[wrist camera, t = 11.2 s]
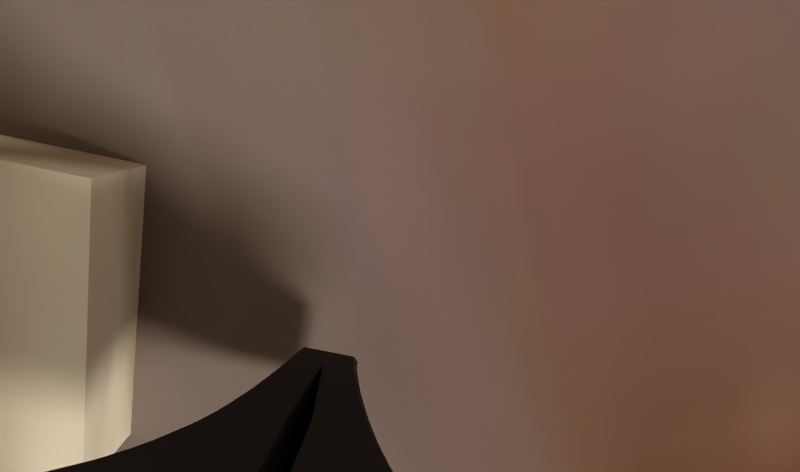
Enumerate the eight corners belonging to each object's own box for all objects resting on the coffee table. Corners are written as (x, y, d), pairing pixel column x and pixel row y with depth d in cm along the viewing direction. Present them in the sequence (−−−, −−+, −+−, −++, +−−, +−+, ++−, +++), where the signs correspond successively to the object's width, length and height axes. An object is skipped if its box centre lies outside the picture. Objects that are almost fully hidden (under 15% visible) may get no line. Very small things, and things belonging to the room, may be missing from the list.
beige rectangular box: (154, 163, 13) (91, 178, 10) (137, 425, 15) (82, 490, 12) (-81, 113, 12) (-201, 117, 10) (-63, 386, 15) (-157, 442, 12)
